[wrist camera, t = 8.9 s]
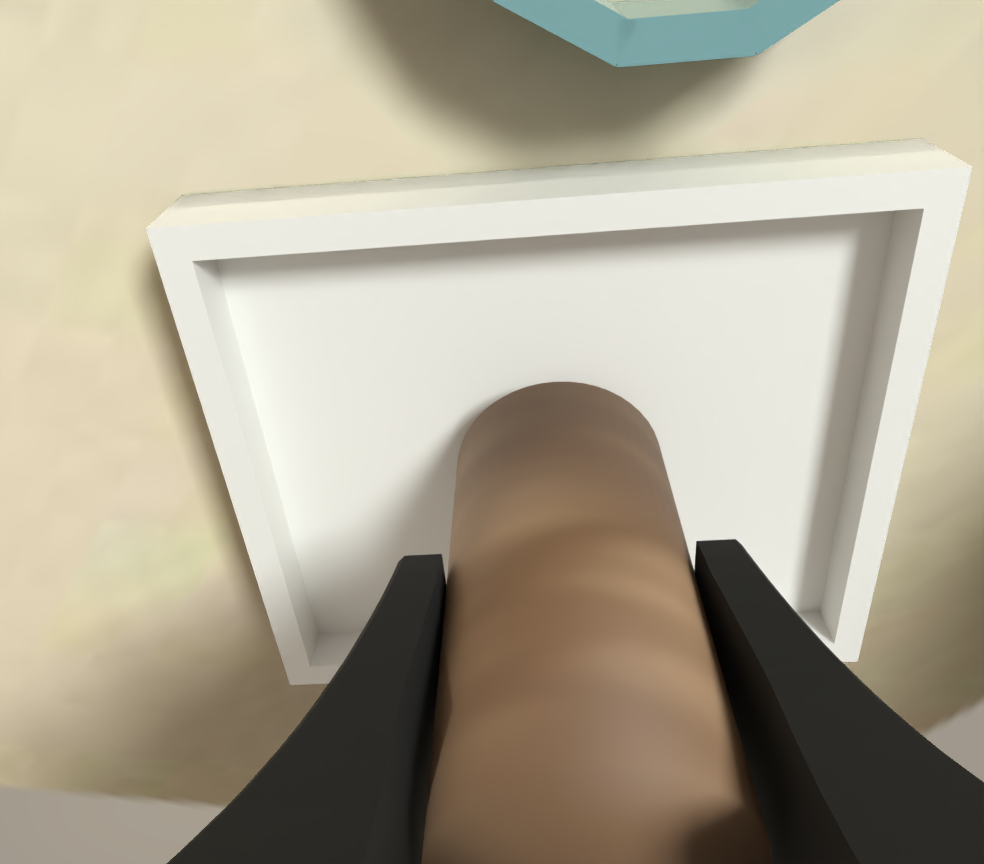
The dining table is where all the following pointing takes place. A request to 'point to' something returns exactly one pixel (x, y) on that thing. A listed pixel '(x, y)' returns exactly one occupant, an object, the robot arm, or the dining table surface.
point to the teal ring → (668, 26)
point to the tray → (566, 355)
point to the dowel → (579, 654)
